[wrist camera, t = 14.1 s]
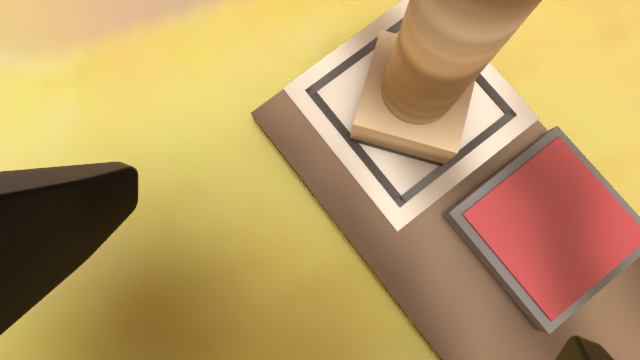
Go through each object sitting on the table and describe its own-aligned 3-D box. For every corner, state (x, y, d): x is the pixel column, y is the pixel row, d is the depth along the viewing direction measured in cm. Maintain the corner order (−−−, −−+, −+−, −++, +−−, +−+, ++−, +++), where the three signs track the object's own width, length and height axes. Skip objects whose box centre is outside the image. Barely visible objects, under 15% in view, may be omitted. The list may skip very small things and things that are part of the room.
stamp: (441, 166, 21) (707, -46, 6) (349, 140, 21) (408, -119, 7) (462, 79, 22) (741, -278, 7) (373, 55, 22) (473, -335, 8)
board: (556, 508, 19) (589, 543, 17) (254, 119, 23) (245, 103, 20) (729, 351, 20) (781, 364, 18) (416, 0, 24) (426, -29, 21)
